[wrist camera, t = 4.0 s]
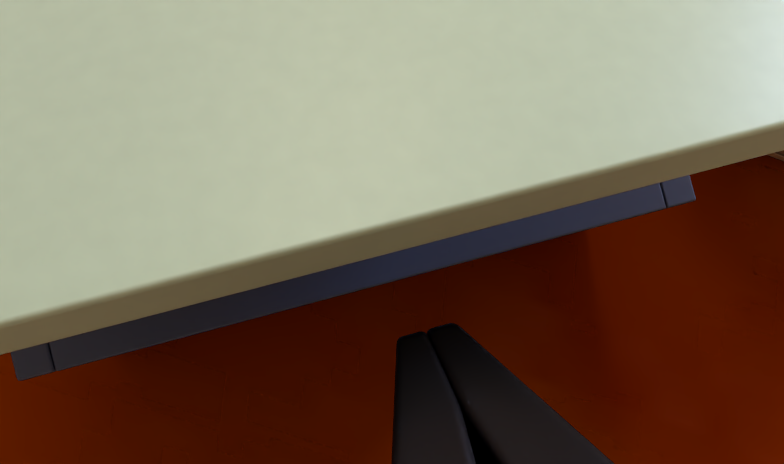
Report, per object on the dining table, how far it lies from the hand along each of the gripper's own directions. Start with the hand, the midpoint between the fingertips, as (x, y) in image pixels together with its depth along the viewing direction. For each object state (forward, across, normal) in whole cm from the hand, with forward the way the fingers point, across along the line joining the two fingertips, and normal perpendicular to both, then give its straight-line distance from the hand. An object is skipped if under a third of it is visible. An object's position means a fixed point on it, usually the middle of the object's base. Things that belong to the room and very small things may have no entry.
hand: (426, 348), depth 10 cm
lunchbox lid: (+5, 0, -3) cm, 6 cm away
